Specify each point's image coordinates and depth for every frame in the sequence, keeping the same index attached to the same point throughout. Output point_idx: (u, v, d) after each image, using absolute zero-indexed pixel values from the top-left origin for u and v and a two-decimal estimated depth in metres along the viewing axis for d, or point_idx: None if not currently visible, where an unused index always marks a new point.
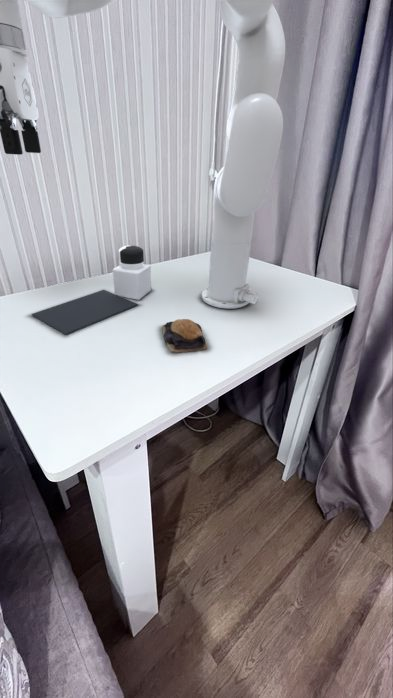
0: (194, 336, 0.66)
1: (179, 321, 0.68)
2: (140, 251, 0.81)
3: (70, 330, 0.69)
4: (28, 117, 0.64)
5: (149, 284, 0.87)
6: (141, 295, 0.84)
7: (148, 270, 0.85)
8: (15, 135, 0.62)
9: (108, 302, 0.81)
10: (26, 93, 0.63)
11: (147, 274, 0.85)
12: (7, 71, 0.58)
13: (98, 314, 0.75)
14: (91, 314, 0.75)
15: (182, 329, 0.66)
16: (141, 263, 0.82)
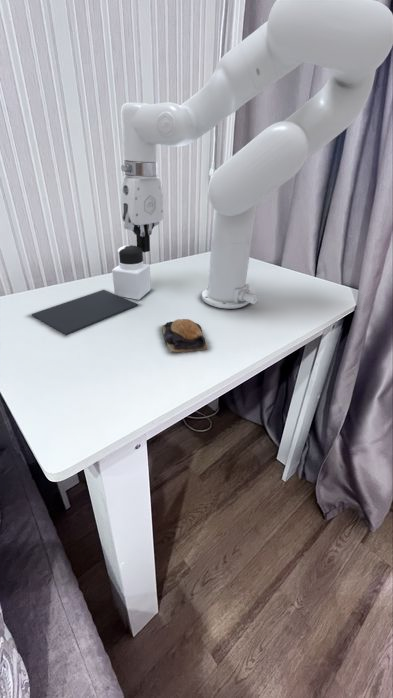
0: (194, 336, 0.66)
1: (179, 321, 0.68)
2: (139, 251, 0.80)
3: (70, 330, 0.69)
4: (146, 223, 0.79)
5: (149, 283, 0.87)
6: (141, 295, 0.84)
7: (148, 270, 0.85)
8: (143, 239, 0.83)
9: (108, 302, 0.81)
10: (148, 206, 0.78)
11: (147, 273, 0.85)
12: (131, 194, 0.74)
13: (98, 314, 0.75)
14: (91, 314, 0.75)
15: (182, 329, 0.66)
16: (140, 263, 0.82)
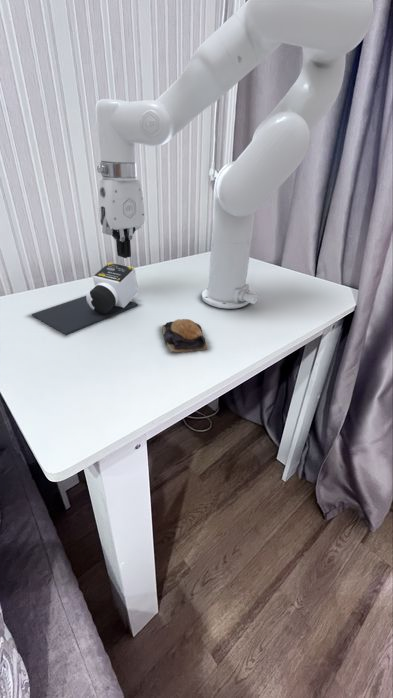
0: (194, 336, 0.66)
1: (179, 321, 0.68)
2: (108, 307, 0.73)
3: (70, 330, 0.69)
4: (125, 227, 0.75)
5: (130, 276, 0.77)
6: (136, 289, 0.81)
7: (122, 285, 0.75)
8: (123, 244, 0.78)
9: None
10: (127, 209, 0.73)
11: (124, 285, 0.76)
12: (108, 197, 0.69)
13: (98, 314, 0.75)
14: (91, 314, 0.75)
15: (182, 329, 0.66)
16: (116, 300, 0.75)
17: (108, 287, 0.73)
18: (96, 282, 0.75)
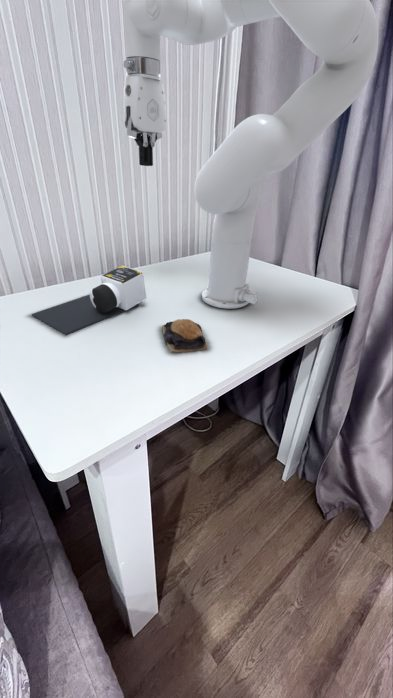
0: (194, 336, 0.66)
1: (179, 321, 0.68)
2: (107, 306, 0.73)
3: (70, 330, 0.69)
4: (149, 130, 0.77)
5: (137, 280, 0.77)
6: (144, 295, 0.80)
7: (125, 287, 0.74)
8: (146, 151, 0.81)
9: None
10: (151, 110, 0.76)
11: (128, 288, 0.75)
12: (134, 94, 0.72)
13: (98, 314, 0.75)
14: (91, 314, 0.75)
15: (182, 329, 0.66)
16: (117, 301, 0.75)
17: (111, 287, 0.74)
18: (103, 282, 0.77)
